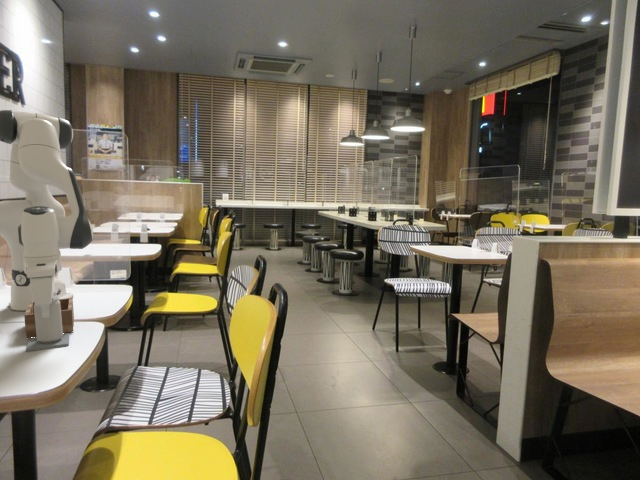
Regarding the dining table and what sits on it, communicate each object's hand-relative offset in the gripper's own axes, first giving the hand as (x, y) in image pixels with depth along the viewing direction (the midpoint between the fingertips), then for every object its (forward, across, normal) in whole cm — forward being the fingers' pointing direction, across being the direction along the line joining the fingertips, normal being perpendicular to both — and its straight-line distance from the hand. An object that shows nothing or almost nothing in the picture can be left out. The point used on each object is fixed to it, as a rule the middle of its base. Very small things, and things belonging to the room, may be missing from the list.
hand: (47, 313), depth 124 cm
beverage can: (+8, 0, 0) cm, 8 cm away
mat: (+9, 0, 0) cm, 9 cm away
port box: (+9, -15, 0) cm, 17 cm away
